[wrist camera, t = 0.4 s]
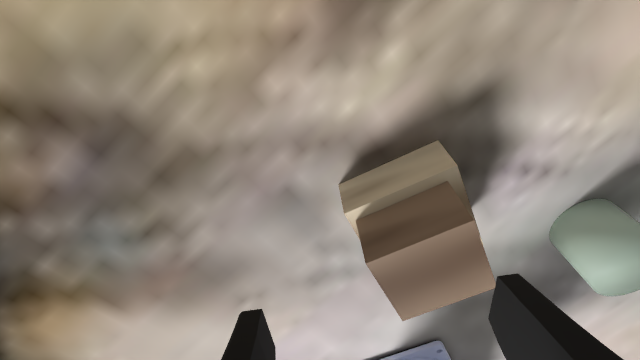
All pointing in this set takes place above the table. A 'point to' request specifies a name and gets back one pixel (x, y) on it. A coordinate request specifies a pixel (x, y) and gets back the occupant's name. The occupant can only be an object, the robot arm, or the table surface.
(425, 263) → the walnut top block
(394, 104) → the table surface
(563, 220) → the pale green short cylinder
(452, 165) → the oak base block
